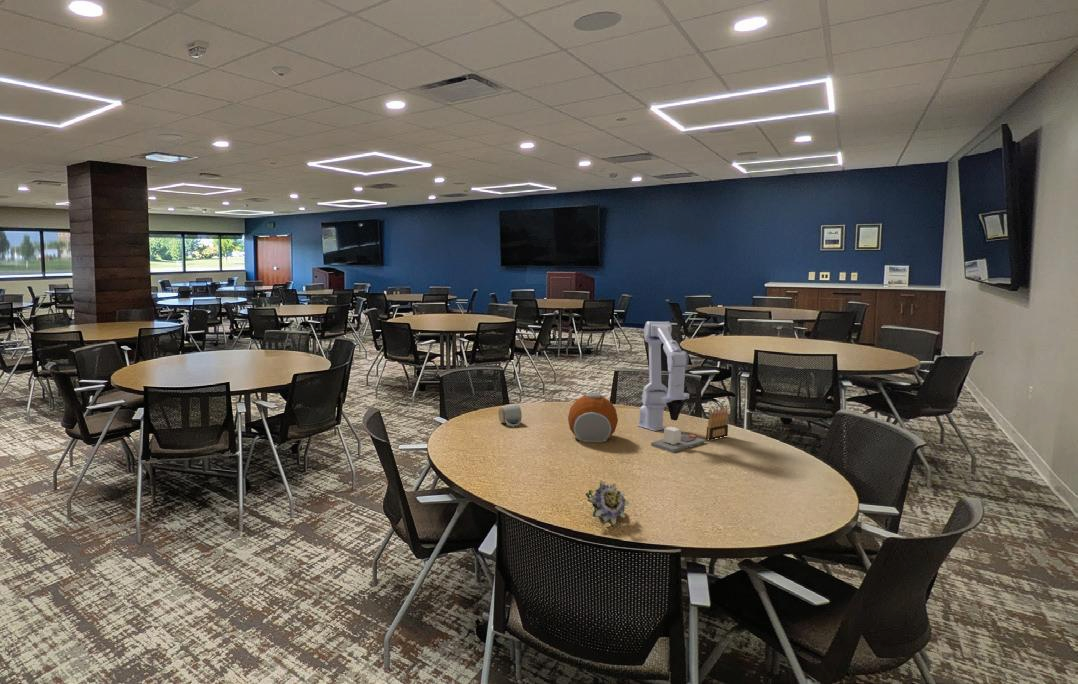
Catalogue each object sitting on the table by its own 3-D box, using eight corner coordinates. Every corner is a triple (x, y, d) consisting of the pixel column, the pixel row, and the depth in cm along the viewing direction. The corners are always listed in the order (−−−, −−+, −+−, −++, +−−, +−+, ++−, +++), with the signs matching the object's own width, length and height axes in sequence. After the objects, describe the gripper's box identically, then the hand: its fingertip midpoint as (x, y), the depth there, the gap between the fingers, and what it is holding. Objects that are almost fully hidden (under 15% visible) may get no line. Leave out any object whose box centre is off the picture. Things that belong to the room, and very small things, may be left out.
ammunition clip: (709, 441, 222) (711, 410, 220) (705, 439, 223) (707, 409, 222) (727, 437, 228) (729, 407, 226) (723, 435, 229) (725, 406, 228)
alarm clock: (616, 432, 230) (618, 390, 228) (617, 446, 213) (619, 400, 210) (568, 430, 232) (569, 387, 230) (566, 443, 215) (567, 397, 212)
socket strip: (651, 445, 214) (651, 440, 214) (683, 436, 227) (684, 431, 227) (673, 452, 206) (673, 447, 206) (705, 442, 219) (705, 438, 219)
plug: (663, 445, 214) (664, 428, 214) (670, 443, 217) (671, 426, 216) (672, 448, 211) (673, 431, 210) (680, 446, 214) (681, 429, 213)
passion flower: (611, 544, 149) (599, 517, 142) (583, 521, 157) (570, 495, 150) (640, 513, 153) (629, 486, 146) (612, 493, 161) (600, 466, 154)
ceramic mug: (497, 421, 242) (497, 403, 240) (515, 419, 245) (515, 402, 244) (506, 428, 232) (506, 410, 231) (524, 426, 235) (525, 408, 234)
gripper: (672, 388, 206) (670, 425, 207) (697, 383, 215) (694, 419, 217) (657, 384, 211) (655, 420, 213) (681, 380, 220) (679, 415, 222)
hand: (674, 419), depth 215 cm, fingers closed
